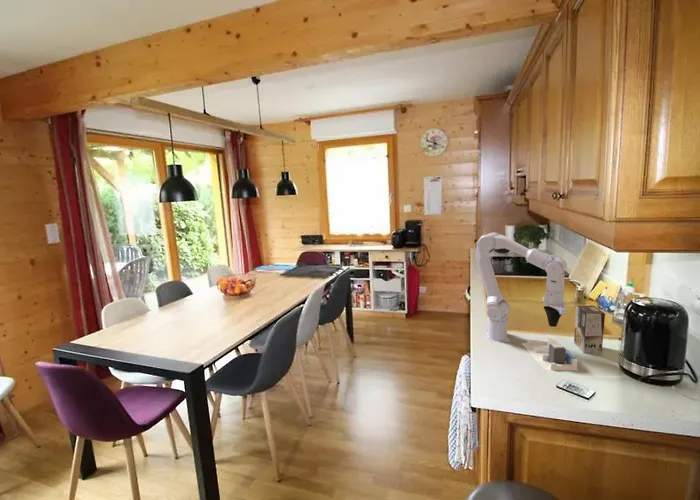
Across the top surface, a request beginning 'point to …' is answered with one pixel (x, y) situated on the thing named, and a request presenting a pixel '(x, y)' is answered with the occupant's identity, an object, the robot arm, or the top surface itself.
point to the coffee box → (589, 329)
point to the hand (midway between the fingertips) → (552, 325)
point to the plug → (556, 354)
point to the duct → (541, 353)
